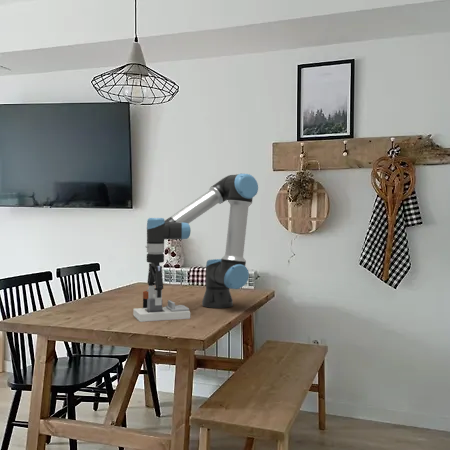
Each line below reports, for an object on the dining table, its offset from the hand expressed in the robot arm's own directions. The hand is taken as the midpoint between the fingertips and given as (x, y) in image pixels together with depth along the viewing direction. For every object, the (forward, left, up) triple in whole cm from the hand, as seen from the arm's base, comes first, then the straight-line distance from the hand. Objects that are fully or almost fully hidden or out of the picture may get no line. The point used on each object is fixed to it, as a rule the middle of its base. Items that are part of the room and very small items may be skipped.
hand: (154, 302), depth 225 cm
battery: (-2, -17, -7) cm, 18 cm away
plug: (0, 0, -7) cm, 7 cm away
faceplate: (-3, 0, -6) cm, 7 cm away
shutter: (-10, 0, -3) cm, 11 cm away
